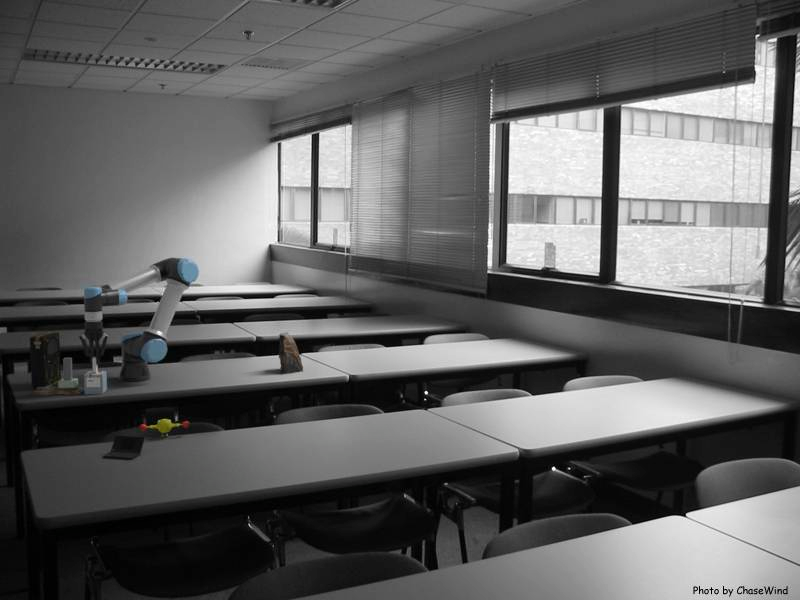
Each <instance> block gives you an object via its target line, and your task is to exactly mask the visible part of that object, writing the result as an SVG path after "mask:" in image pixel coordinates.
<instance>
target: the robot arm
mask: <svg viewBox="0 0 800 600" xmlns="http://www.w3.org/2000/svg"><path fill="white" fill-rule="evenodd" d="M199 274H200V269H199V267H198V264H197V263H196V262H195V261H194V260H193V259H191V258H190V259H189V258H182V257H168V258H165V259H162V260H160V261H158V262H155V263H153V264H150V265H149V267H148V268H145V269H143V270H140V271H138V272H135V273H132V274H131V275H127V276H126V277H122V278H119V279H117V280H115V281H112V282H109V283H107V284H104V285H101V286H96V285H95V286H86V287H84V289H83V304H84V305H83V306H84V307H83V308H84V320H85V322H84V333H83V334H81V335H80V336H79V337H78V338H79V339H80V341H81V344H82V347H83V350H84V354H85V357H88V358H89V364H90V365H92V371H93V372H97V371H98V365H100V363H101V360H100V357H103V356H104V354H105V350H106V345H107V341H108V339H109V338H110V335H108V334H106V333H105V332H104V330H103V329H104V327H103V308H104V307H120V306H124V305H126V303H127V301H128V293H131V292H133V291H135V290H138V289H140V288H144V287H146V286H148V285H151V284H153V283H156V284H157V283H158V284H159V283H161V282H166V286H165V289H164V291H163V294H162V297H160V301H159V302H158V305H157V308H156V310H155V311H154V315H153V317H152V320H151V322H150V325H149V326H148V328H146V329H144V330H143V331H141V332H140V331H139V332H130V333H124V334H123V335H122V336H121V341H120V343H121V360H122V361H121V367H120V371H119V373H118V380H119V381H121V382H129V383H131V382H133V383H134V382H141V381H143V382H144V381H147V380H150V379H152V372H151V370H150V368H149V365H148V363H158V362H160V361H162V360H163V359H164V358H165V357H166V355H167V353H168V345H167V341H168V337H167V332H168V330H169V327H170V326H171V324H172V323H171V322H172V320H173V318H174V316H175V314H176V311H177V309H178V306H179V303H180V301H181V299H182V297H183V293H184V292H185V291H186V290H188V289H190V288H189V287H190V286H191V284H192V283H194V282H196V281H197V279H198V277H199ZM86 339H87V340H88V343H89V345H88V344H87V340H86ZM101 339H103V340H102V343H101V348H100V340H101ZM94 345H95V350H94ZM88 346H89V347H88ZM94 352H95V353H94Z"/></svg>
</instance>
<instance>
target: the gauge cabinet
mask: <svg viewBox="0 0 800 600" xmlns="http://www.w3.org/2000/svg"><path fill="white" fill-rule="evenodd" d="M92 372H93V370H92V371H90V370H89V371H87V372H86V373H85V374H83V383H84V386H83V387H84V395H104V394H105V393H106V392H107V391H108V380H107V379H108V378H107V377H108V376H107V373H108V372H107V370H101V372H100V370H99V374H98V378H97V374H92ZM106 390H107V391H106ZM105 391H106V392H105ZM104 392H105V393H104ZM103 393H104V394H103Z"/></svg>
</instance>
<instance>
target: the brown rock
mask: <svg viewBox="0 0 800 600" xmlns="http://www.w3.org/2000/svg"><path fill="white" fill-rule="evenodd" d="M278 336H279V339H278V341H279V346H278V352H279V353H278V358H279V360H280V361H279V362H280V373H281V374H284V375H287V374H294V373H300V372H302V373H303V372H304V366H303V362H302V358H301V355H300V353H299V350H298V346H297V344H296V342H295V340H294V338H293V336H291V335H290V333H288V331H286V332H281V333H280V334H279V335H278Z"/></svg>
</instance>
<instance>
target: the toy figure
mask: <svg viewBox="0 0 800 600" xmlns="http://www.w3.org/2000/svg"><path fill="white" fill-rule="evenodd" d="M179 426H182V427H183V428H189V427H190V422H189V421H188V420H185V421H182V423H172V421H171V419H168V418H162V419H159V420H158V421H157V424H155V425H150V426H147V425H146V424H145V423H142V424H141V423H140V425H139V426H138V430H139V431H141V432H143V431H145V430H147V428H149V429H157V430H158V432H159V433H161V436H160V437H161V438H164V434H165V437H167V438H168V437H169V434H168V433H169V432H170V431H171V430H172V428H174V427H179Z"/></svg>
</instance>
